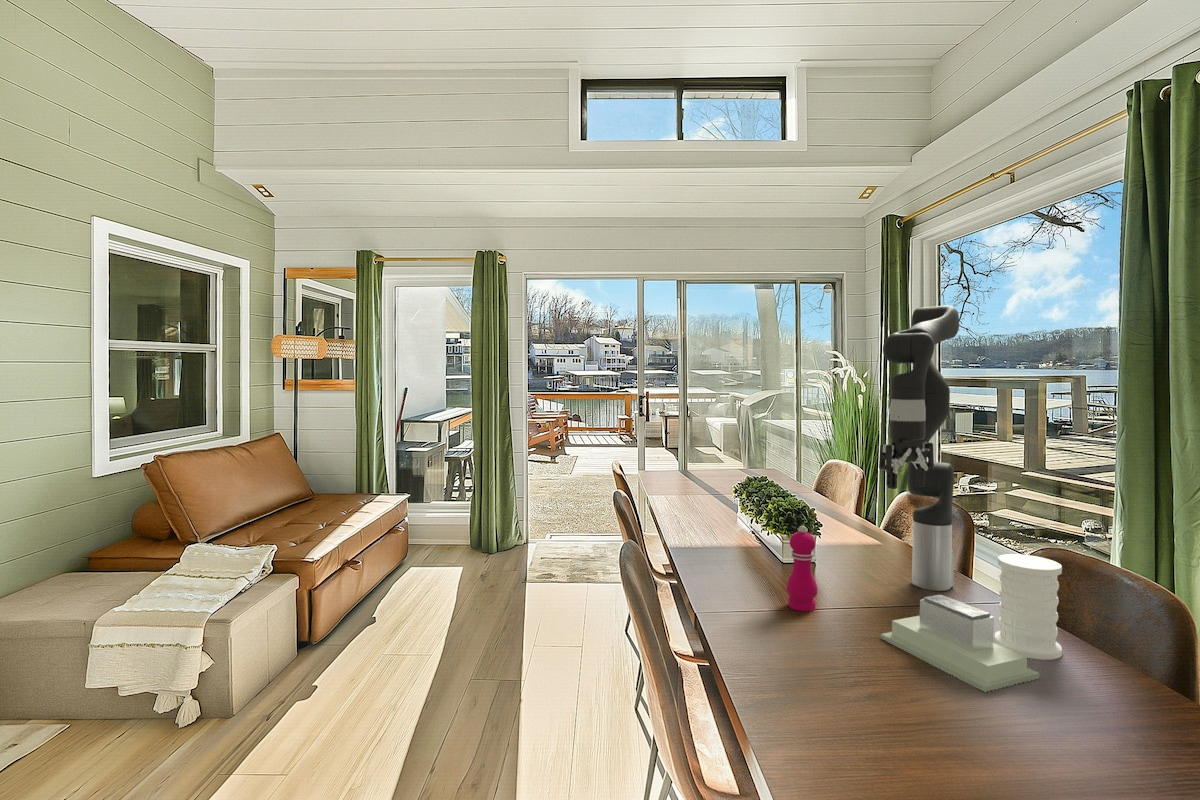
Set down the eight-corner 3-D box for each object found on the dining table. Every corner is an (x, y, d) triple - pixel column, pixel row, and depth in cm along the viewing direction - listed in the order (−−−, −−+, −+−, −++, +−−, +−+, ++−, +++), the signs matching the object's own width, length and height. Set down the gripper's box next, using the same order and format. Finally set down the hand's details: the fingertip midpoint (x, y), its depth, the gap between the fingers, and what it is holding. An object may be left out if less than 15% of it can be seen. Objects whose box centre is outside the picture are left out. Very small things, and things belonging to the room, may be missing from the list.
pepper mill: (819, 613, 147) (820, 530, 146) (787, 611, 148) (788, 528, 147) (815, 602, 154) (816, 522, 153) (785, 600, 155) (785, 521, 154)
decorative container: (1050, 639, 132) (1052, 556, 131) (1071, 663, 121) (1073, 572, 120) (987, 632, 135) (989, 551, 135) (1002, 655, 124) (1004, 567, 124)
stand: (930, 628, 137) (930, 611, 137) (1039, 678, 115) (1039, 657, 115) (880, 638, 132) (881, 620, 132) (984, 692, 110) (985, 670, 110)
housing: (993, 647, 119) (993, 614, 119) (972, 652, 117) (973, 618, 117) (939, 624, 130) (939, 593, 130) (919, 628, 128) (920, 596, 128)
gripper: (896, 420, 139) (895, 492, 139) (943, 418, 143) (942, 488, 144) (871, 418, 146) (870, 486, 146) (917, 416, 150) (916, 482, 151)
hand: (906, 487), depth 145 cm, fingers open, 8 cm apart
